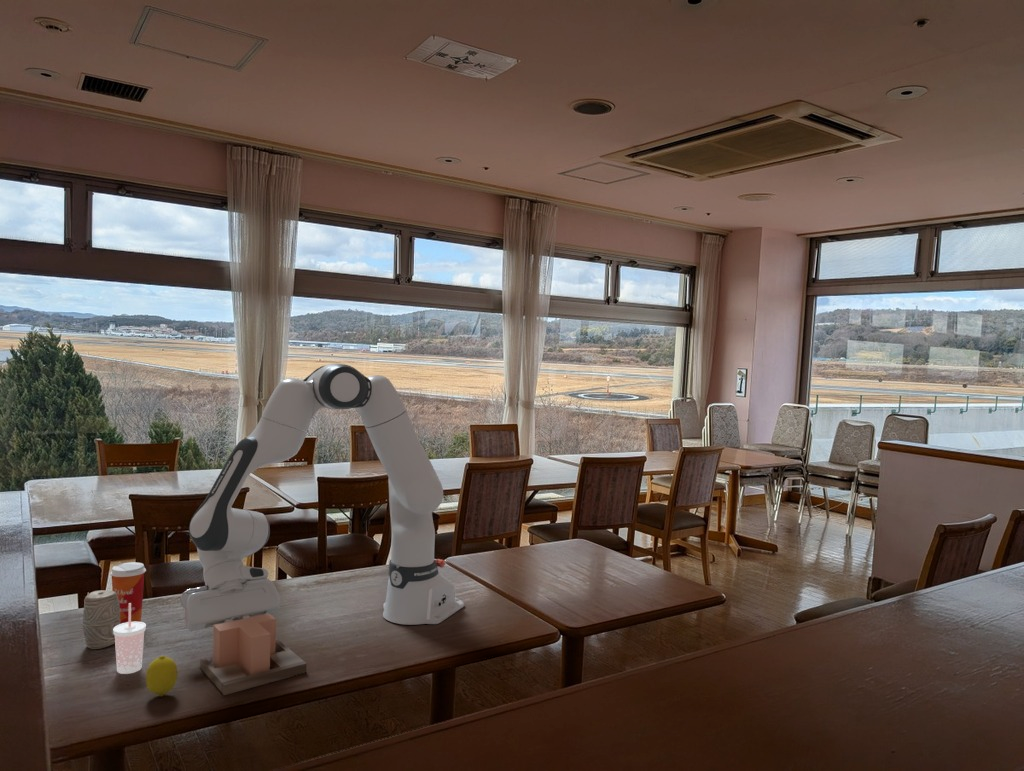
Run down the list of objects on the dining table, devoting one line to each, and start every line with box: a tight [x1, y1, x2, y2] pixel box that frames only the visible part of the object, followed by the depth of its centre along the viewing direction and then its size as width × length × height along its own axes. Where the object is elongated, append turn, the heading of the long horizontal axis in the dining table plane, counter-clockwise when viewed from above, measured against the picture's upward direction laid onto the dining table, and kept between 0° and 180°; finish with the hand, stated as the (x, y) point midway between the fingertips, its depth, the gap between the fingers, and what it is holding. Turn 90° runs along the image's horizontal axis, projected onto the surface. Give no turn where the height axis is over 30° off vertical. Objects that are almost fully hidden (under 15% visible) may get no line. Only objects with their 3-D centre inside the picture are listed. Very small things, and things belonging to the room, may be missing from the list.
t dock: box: [199, 639, 307, 696], centre depth 153 cm, size 15×17×2 cm
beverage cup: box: [113, 603, 147, 675], centre depth 151 cm, size 6×6×14 cm
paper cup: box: [109, 561, 147, 624], centre depth 175 cm, size 8×8×14 cm
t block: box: [212, 613, 277, 676], centre depth 153 cm, size 11×12×9 cm
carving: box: [82, 589, 120, 650], centre depth 162 cm, size 6×8×12 cm
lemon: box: [145, 655, 178, 697], centre depth 141 cm, size 6×6×8 cm
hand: (241, 638), depth 158 cm, fingers closed, pressing on t block
